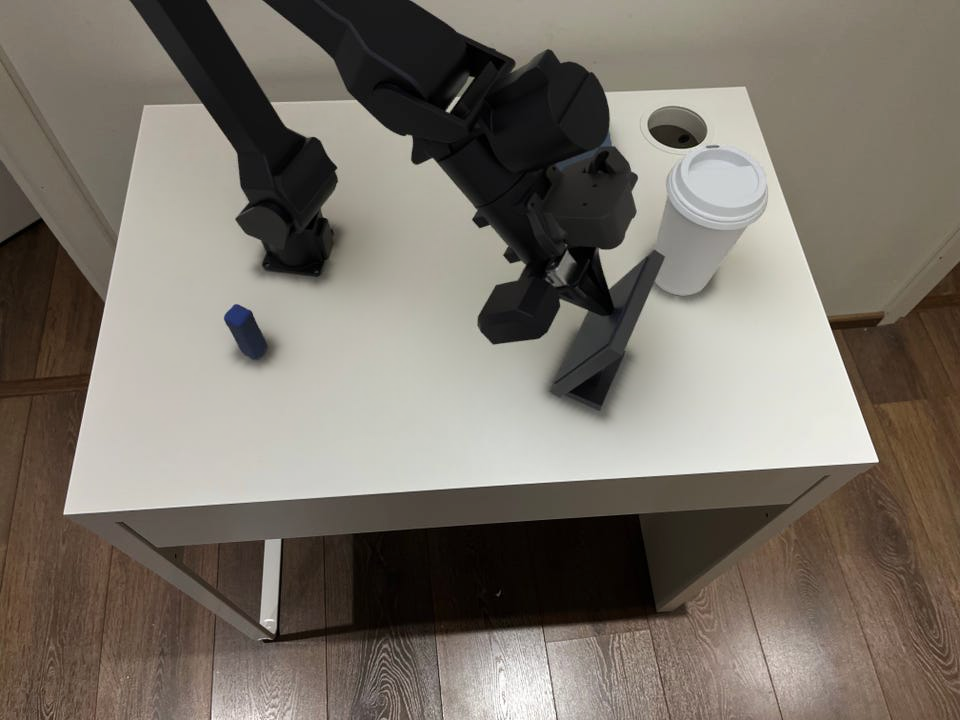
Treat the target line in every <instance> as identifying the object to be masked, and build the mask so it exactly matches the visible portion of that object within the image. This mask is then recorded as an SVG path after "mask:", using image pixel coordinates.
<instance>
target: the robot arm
mask: <svg viewBox="0 0 960 720" xmlns="http://www.w3.org/2000/svg"><path fill="white" fill-rule="evenodd" d="M128 1H129V2H130V3H131V4H132V7H134V8H135V10H136V12H137V13H138V14H139V16H140V18H141V19H142V20H143V22H144V23H145V24H146V26H147V27H148V28H149V30H150V31H151V33H152V34H153V35H154V37H155V38H156V39H157V41H158V43H159V44H160V45H161V47H162V48H163V50H164V51H165V53H166V54H167V56H168V57H169V59H170V60H171V61H172V62H173V64H174V65H175V67H176V68H177V70H178V71H179V72H180V74H181V76H182V77H183V78H184V79H185V81H186V83H187V84H188V85H189V87H190V88H191V89H192V91H193V92H194V94H195V96H196V97H197V98H198V100H199V101H200V102H201V104H202V105H203V106H204V108H205V109H206V111H207V113H209V115H210V116H211V118H212V119H213V121H214V123H215V124H216V125H217V127H218V128H219V130H220V131H221V133H222V134H223V135H224V137H226V139H227V140H228V142H229V144H230V145H231V146H232V148H233V149H234V151H235V152H236V155H237V166H238V174H239V175H238V177H239V186H240V188H241V191H242V192H243V194H244V195H245V198H246V199H247V201H248V203H247V204H246V205H245V206H244V207H243V209H242V210H241V211H240V212H239V213H238V215H237V216H236V217H235V218H234V220H235V222H236V223H237V225H238V226H239V227H240V228H241V230H242V231H243V232H244V234H245V235H248V236H250V237H252V238H254V239H256V240H259V241H261V243H262V246H263V249H264V252H265V255H264V257H263V260H262V262H261V266H262V268H263V270H265V271H269V272H275V273H276V272H277V273H285V274H292V275H299V276H307V277H315V278H318V277H320V276H321V275H322V274H323V270H324V268H325V264H326V261H328V260H329V258H330V255H331V253H332V249H333V246H334V235H335V232H334V229H333V228H332V227H331V226H330V221H329V219H328V218H327V217H324V215H323V214H324V213H323V211H322V208H323V206H324V205H325V204H326V202H327V201H328V200H329V199H330V197H331V196H332V194H333V193H334V192H335V191H336V189H337V184H338V183H339V178H338V174H337V172H336V171H337V170H338V166H337V165H336V164H335V163H334V161H333V160H331V158H330V157H329V155H328V154H327V151H326V150H325V148H324V145H323V143H322V141H321V139H319V138H318V137H316V136H309V137H307V136H306V135H303V134H301V133H300V132H297V131H295V130H293V129H291V128H290V127H287V126H286V125H285V123H284V122H283V120H282V119H281V117H280V115H279V114H278V113H277V111H276V109H275V108H274V106H273V104H272V103H271V101H270V100H269V98H268V97H267V94H266V93H265V92H264V90H263V88H262V87H261V85H260V83H259V82H258V80H257V79H256V77H255V76H254V74H253V72H252V71H251V69H250V67H249V66H248V64H247V63H246V61H245V59H244V57H243V56H242V55H241V53H240V51H239V49H238V48H237V46H236V45H235V43H234V42H233V40H232V39H231V37H230V35H229V34H228V32H227V31H226V28H224V25H223V24H222V22H221V21H220V19H219V18H218V16H217V14H216V12H215V11H214V9H213V8H212V7H211V5H210V3H209V1H208V0H128ZM262 2H264V3H265V4H266V5H267V6H269V7H270V8H271V9H272V10H274V11H275V12H276V13H277V14H279V15H280V16H281V17H283V18H284V19H285V20H286V21H287V22H289V23H290V24H291V25H292V26H294V27H295V28H296V29H297V30H299V31H300V32H301V33H303V34H304V35H305V36H306V37H308V38H309V39H310V40H312V41H313V42H314V43H315V44H317V46H319V48H321V49H322V50H323V51H324V52H325V53H326V54H327V55H328V56H329V57H330V58H331V59H332V60H333V62H334V64H335V66H336V69H337V72H338V74H339V75H340V78H341V80H342V83H343V84H344V87H345V90H346V91H347V92H348V93H349V95H350V96H352V98H353V99H354V100H356V101H357V102H358V103H359V104H360V105H361V106H362V107H363V108H364V109H365V110H366V111H367V112H368V113H369V114H370V115H371V116H372V117H373V118H374V119H375V120H376V121H378V123H380V124H381V125H382V126H383V127H385V128H386V129H387V130H389V131H390V132H392V133H394V134H396V135H398V136H400V137H407V136H411V138H412V146H411V147H412V148H411V153H410V154H411V157H410V161H411V163H412V164H413V165H415V166H419V165H421V164H423V163H425V162H427V161H430V160H434V162H435V163H436V164H437V165H438V166H439V167H440V168H441V169H442V171H443V172H444V173H445V174H446V176H448V178H449V179H450V180H451V181H452V182H453V183H454V185H455V186H456V187H457V189H459V191H460V192H461V193H462V194H463V196H465V198H466V199H467V200H468V201H469V202H470V203H471V204H472V206H473V208H475V209H476V212H475V213H474V215H473V216H472V217H471V221H472V222H473V223H474V224H475V225H476V226H477V227H478V229H483V228H486V227H489V226H490V227H491V228H492V229H493V230H494V231H495V232H496V234H497V235H498V236H499V237H500V239H501V240H502V241H503V243H505V244H506V245H507V248H506V249H505V251H504V253H503V254H502V256H503V258H504V259H505V260H506V261H507V262H508V263H509V264H510V265H512V264H515V263H518V262H522V263H523V265H524V268H523V269H522V271H521V273H520V275H519V277H518V278H517V279H516V280H513V281H508V282H502V283H498V284H495V285H494V287H493V289H492V291H491V292H490V294H489V296H488V298H487V299H486V301H485V302H484V305H483V306H482V309H480V312H479V314H478V315H477V323H476V325H477V328H478V330H479V331H480V333H481V334H482V335H483V336H484V338H486V340H488V342H490V344H492V345H501V344H510V343H511V344H512V343H517V342H527V341H534V340H540V339H541V338H542V337H544V336H545V335H546V334H547V333H548V332H549V330H550V328H551V327H552V324H553V322H554V321H555V318H556V317H557V315H558V313H559V311H560V309H561V301H564V302H566V303H569V304H571V305H574V306H576V307H578V308H581V309H583V310H586V311H587V312H588V311H591V312H593V313H595V314H598V315H600V316H609V315H611V313H612V311H613V309H614V305H613V302H612V298H611V295H610V292H609V289H610V288H609V286H608V282H607V279H606V276H605V272H604V269H603V266H602V261H601V256H600V250H604V251H611V250H613V249H616V248H618V247H619V246H620V245H622V243H623V242H624V240H625V238H626V233H627V232H628V231H627V230H628V229H629V227H630V225H631V222H632V221H633V219H635V218H636V215H637V207H636V202H635V199H634V195H633V190H634V189H635V188H636V187H635V186H636V185H637V183H638V181H639V176H638V174H637V173H635V172H633V171H632V168H631V164H630V162H629V161H628V160H627V159H626V157H625V156H624V155H623V153H622V152H620V150H619V149H618V148H617V146H615V145H614V146H613V145H612V146H603V147H600V146H601V145H602V144H603V143H604V141H605V140H606V138H607V134H608V131H609V132H610V125H611V114H610V106H609V102H608V99H607V95H606V93H605V92H606V91H605V90H604V87H603V85H602V84H601V82H600V80H599V78H598V77H597V75H595V73H594V72H593V71H589V70H588V69H586V68H585V66H583V65H581V64H579V63H577V62H576V61H575V62H574V61H563V62H561V61H560V60H559V58H558V57H557V56H556V53H554V51H553V49H549V48H547V49H545V50H543V51H541V52H540V53H538V54H536V55H535V56H534V57H532V58H531V60H530V61H529V62H527V63H525V64H524V65H523V66H521V67H519V68H516V65H517V63H516V60H515V59H514V58H513V57H511V56H509V55H506V54H504V53H503V52H500V51H498V50H496V48H493V47H490V46H487V45H486V44H483V43H481V42H479V41H477V40H475V39H472V38H470V37H468V36H467V35H465V34H462V33H460V32H458V31H457V30H456V29H455V28H453V27H452V26H451V25H449V24H448V23H447V22H445V21H443V20H442V19H441V18H439V17H438V16H436V15H435V14H433V13H431V12H430V11H428V10H427V9H425V8H423V7H422V6H420V5H419V4H417V3H416V2H414V1H413V0H262ZM515 68H516V69H515ZM514 69H515V70H514ZM469 77H470V78H473V79H472V80H471V82H470V83H469V85H468V86H467V87H466V89H465V90H464V91H463V93H462V95H461V96H460V97H459V98H458V100H457V101H456V103H455V104H454V106H453V107H452V108H451V110H450V111H449V112H448V111H447V110H448V109H449V107H450V106H451V105H452V103H453V102H454V100H455V99H456V98H457V96H458V95H459V93H460V92H461V91H462V89H463V88H464V86H465V85H466V84H467V82H468V80H469ZM598 147H599V148H598ZM596 148H598V149H597V151H596V153H595V154H594V156H592V157H590V158H587V159H584V160H581V161H579V162H576V163H573V164H571V165H568V166H565V167H563V169H562V171H560V170H559V169H558V168H557V166H556V165H555V164H557V163H559V162H562V161H565V160H567V159H570V158H573V157H575V156H578V155H580V154H583V153H586V152H588V151H591V150H594V149H596Z"/></svg>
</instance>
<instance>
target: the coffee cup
mask: <svg viewBox="0 0 960 720" xmlns="http://www.w3.org/2000/svg"><path fill="white" fill-rule="evenodd" d="M665 189H666V194H667V196H666V199H665V204H664V209H663V212H662V216H661V220H660V224H659V228H658V231H657V236H656V240H655V244H654V247H653V250H656V251H658V252H659V253H661V254H662V255H664V256H665V259H664V261H663V263H662V266H661V268H660V270H659V273H658V275H657V277H656V279H655V282H654V284H656V285H657V286H658V287H659V288H660V289H662V290H663V291H665V292H666V293H668V294H671V295H675V296H682V297H683V296H691V295H695V294H697V293H699V292H701V291H702V290H703V289H704V288H705V287H706V286H707V284H708V283H709V282H710V280H711V279H712V277H713V276H714V274H715V273H716V272H717V270H718V269H719V268H720V265H721V264H722V263H723V262H724V260H725V259H726V258H727V256H728V254H730V252H731V250H733V248H734V246H735V245H736V243H737V242H738V241H739V239H740V238H741V236H742V235H743V234H744V233H745V232H746V229H747V228H748V227H749V226H750V225H752V224H754V223H756V222H757V221H758V220H759V219H760V218H761V217H762V216H763V214H764V213H765V211H766V208H767V206H768V201H769V187H768V179H767V174H766V172H765V170H764V168H763V166H762V165H761V163H760V162H759V161H758V160H757V159H756V158H755V157H754V156H753V155H751V154H750V153H748V152H747V151H745V150H743V149H741V148H739V147H737V146H736V147H735V146H732V145H729V144H724V143H723V144H722V143H708V144H704V145H703V144H702V145H699V146H697V147H695V148H694V149H691V150H690V151H689V152H688V153H687V154H685V155H683V156H682V157H680V158H679V159H678V160H677V161H676V162H675V163H674V165H673V166H672V167H671V168H670V170H669V172H668V173H667V176H666V179H665Z"/></svg>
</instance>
